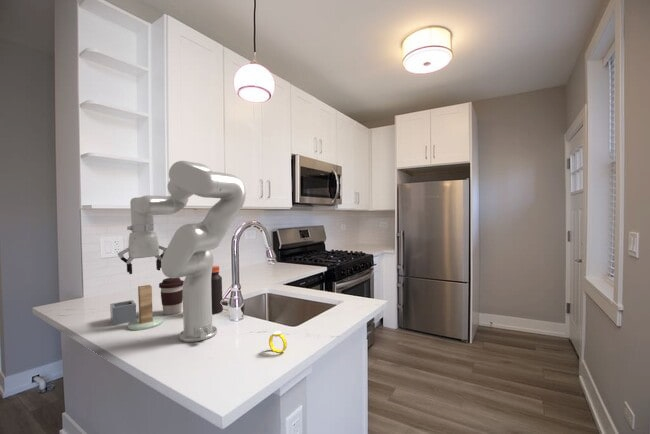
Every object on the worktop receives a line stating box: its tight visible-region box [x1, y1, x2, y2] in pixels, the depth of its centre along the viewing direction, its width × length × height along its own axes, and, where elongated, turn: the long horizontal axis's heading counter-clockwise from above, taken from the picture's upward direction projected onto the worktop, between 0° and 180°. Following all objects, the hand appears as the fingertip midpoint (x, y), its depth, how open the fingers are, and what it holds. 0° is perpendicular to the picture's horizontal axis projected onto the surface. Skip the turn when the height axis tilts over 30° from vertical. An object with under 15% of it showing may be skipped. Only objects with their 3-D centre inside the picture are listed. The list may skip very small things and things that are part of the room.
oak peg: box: [137, 284, 154, 324], centre depth 121 cm, size 4×4×14 cm
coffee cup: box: [158, 277, 184, 316], centre depth 136 cm, size 10×10×15 cm
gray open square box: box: [109, 299, 137, 326], centre depth 127 cm, size 8×8×7 cm
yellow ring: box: [268, 330, 288, 354], centre depth 95 cm, size 6×3×6 cm, turn 61°
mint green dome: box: [127, 315, 164, 331], centre depth 121 cm, size 12×12×1 cm
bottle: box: [211, 265, 224, 315], centre depth 135 cm, size 7×7×20 cm
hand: (144, 271), depth 121 cm, fingers open, 9 cm apart
